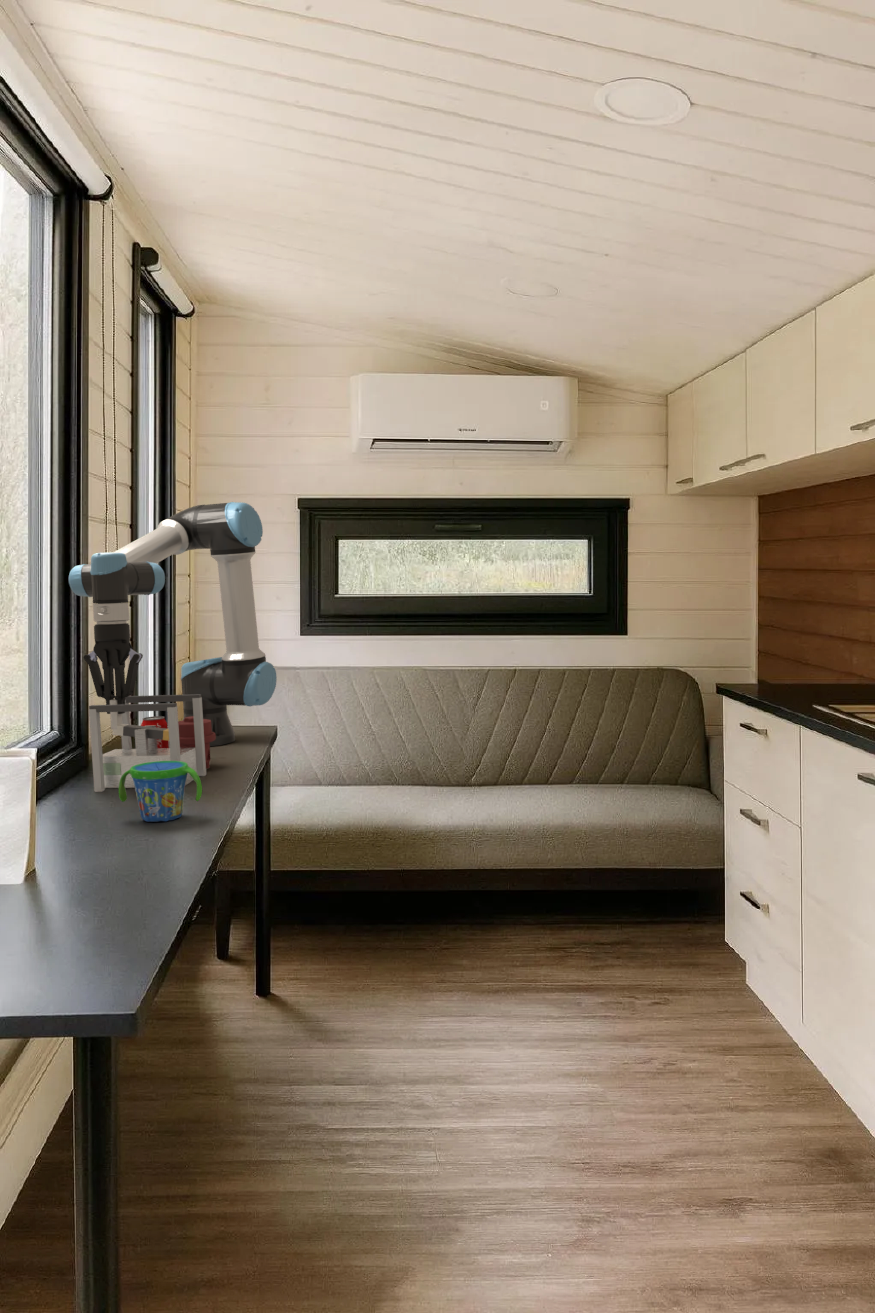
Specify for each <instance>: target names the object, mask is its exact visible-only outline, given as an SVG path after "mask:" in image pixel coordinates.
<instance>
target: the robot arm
mask: <svg viewBox="0 0 875 1313" xmlns="http://www.w3.org/2000/svg"><path fill="white" fill-rule="evenodd" d="M263 532H264V530H263V524H262V521H261V517H260V516H259V514H258V512H257V510H255V508H254V506H252V505H251V504H249V503H247V502H241V501H239V502H237V501H235V502H234V501H231V502H223V503H221V502H219V503H211V504H198V505H194V506H192V507H188V508H186V509H184V510H182V511H179V512H176V513H174V514H173V515H171V516H170V517H168V518H166V519H164V520H162V521H160V522H159V523H158V524H157V527H156V529H154V530H151V531H150V532H148V533H145V534H144V535H143V536H141V537H139V538H137V539H136V540H134V541H131V542H130V543H128V544H126V545H124V546H122V547H120V548H119V549H117V550H115V551H113V552H97V553H93V554H92V555H91V557H90V563H88V564H87V563H82V564H79V565H75V566H73V568H71V569H70V571H69V575H68V585H69V587H70V589H71V591H72V592H73V594H75V595H76V596H79V597H88V598H92V611H93V612H92V614H93V621H94V622H96V624H94V626H93V636H94V638H93V639H94V646H93V650H92V651H91V652H90V653H88V654H84V656H83V660H84V661H85V663H86V664H87V666H88V669H89V672H90V675H91V679H92V682H93V686H94V690H95V693H96V696H97V697H98V698H102V699H104V700H105V705H120V704H125V698H126V697H129V696H134V690H135V686H136V680H137V675H138V670H139V664H140V662H141V661H142V659H143V656H144V654H143V653H140V652H139V653H138V652H137V651H135V650H134V649H133V646H132V644H131V631H130V630H131V629H130V628H131V627H130V625H131V624H129V623H128V621H129V620H130V610H129V596H143V595H144V596H150V595H154V594H157V593H159V592H160V591H161V590H162V589H163V588H164V586H165V582H166V580H165V579H166V576H165V570H164V569H163V568H162V567H161V565H159V563H160V562H162V561H163V560H166V558H168V557H170V556H172V555H176V556H177V555H182V554H183V553H185V552H187V551H193V550H204V549H206V550H208V549H209V552H210V557H211V558H212V559H213V560H215V562H217V570H218V571H217V572H218V581H219V589H220V590H219V591H220V601H221V609H222V619H223V621H222V622H223V629H224V639H225V647H226V648H225V650H226V652H225V653H224V654H223V656H219V657H214V658H208V659H199V660H195V661H190V662H189V661H188V662H185V663H183V665H182V666H181V669H180V671H181V676H180V681H181V691H182V692H181V695H190V694H201V697H202V711H203V719H208V720H211V727H212V732H214V733H215V735H216V739H215V740H214V741H212V742H210V747H214V746H223V745H227V744H228V745H229V744H231V743H234V742H235V741H236V735H235V730H234V728H233V725H232V722H231V720H230V717H229V715H228V709H227V708H228V707H227V706H242V707H243V706H246V707H253V706H263V705H265V704H266V703H268V702H269V701H270V699H272V697H273V694H274V693H275V689H276V687H277V680H278V679H277V677H278V676H277V670H276V668H275V667H274V664H272V663H271V662H268V661H267V659H266V658H267V657H266V652H264V651H263V650H261V649H260V645H259V644H260V642H259V635H258V634H259V633H258V624H257V615H256V604H255V593H254V584H253V582H254V581H253V575H252V574H253V573H252V564H251V560H252V558H253V557H254V555H255V554H256V547H257V546H258V545H259V544H260V543H261V541H262V537H263ZM128 658H129V664H128V668H127V673H126V675H125V668H126V661H127V660H128ZM98 659H99V661H100V662H101V666H102V670H103V674H102V670H101V668H100V664H99V662H98ZM182 703H183V704H182V708H183V709H182V710H183V718H182V721H183V720H184V718H185V717H190V716H193V701H183V702H182ZM123 713H125V712H106V714H107V715H109V716H110V730H113V729H117V726H118V725H121V724H122V714H123Z"/></svg>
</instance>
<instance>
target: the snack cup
mask: <svg viewBox="0 0 875 1313" xmlns="http://www.w3.org/2000/svg"><path fill="white" fill-rule="evenodd" d="M187 773H189V774H190V775H191V777H192V778H193V779H194V780H193V781H194V782H195V783H196V796H195V802H198V801H199V800H201V797H202V794H203V787H202V781H201V778H200V776H198V774H197V773H196V771H195V770H193V769H192V768H190V767H188V764H187V763H185V762H181V761H155V762H147V763H142V764H138V765H135V766H132V767H131V768H130V770H128V771H126V772H125V773H124V774H123V775H122V777H121V779H120V782H119V788H118V798H119V800H120V801H121V802H126V801H127V799H128V796H127V790H126V788H125V786H124V784H125V780H126V776H127V775H128V774H131V777H132V778H133V782H134V786H135V788H134V790H135V796H136V801H137V805H138V809H139V810H138V812H139V814H140V817H141V819H142V820H143V821H145V822H147V823H148V822H151V823H153V822H154V823H158V822H168V821H174V820H177V819H178V818H181V817H182V815H183V810H184V802H185V800H184V799H185V788H186V785H185V782H186V778H187Z"/></svg>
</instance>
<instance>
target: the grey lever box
mask: <svg viewBox="0 0 875 1313" xmlns="http://www.w3.org/2000/svg"><path fill="white" fill-rule="evenodd" d="M146 727H156V725H153V726H146ZM134 739H135V740H134V742H135V748H132V749H122V748H119V749H118V748H115V749H113V750H110V751H107V752H105V753H102V755H103V770H104V784H105V789H119V782H120V779H121V777H122V775H123V774H124V773H125V772H126V771H128V770H130V768H131V767H132V766H135V765H138V764H142V763H147V762H155V761H171V760H170V747H169V748H157V739H151V738H148V733H147V729H136V730H135V737H134ZM180 759H181V762H185V763H187V764H188V767H190V768H192V769H193V770H195V771H196V773H197V767H196V751H195V748H180ZM193 781H194V779H193V778H192V777H191V775H190V774H189V773H187V778H186V782H185V786H187V785H188V784H191V782H193ZM124 786H125V789H126V788H127V789H128V788H130V789H132V788H134V789H135V786H134V782H133V778H132V777H131V774H128V775H127V776H126V780H125V784H124Z"/></svg>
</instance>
